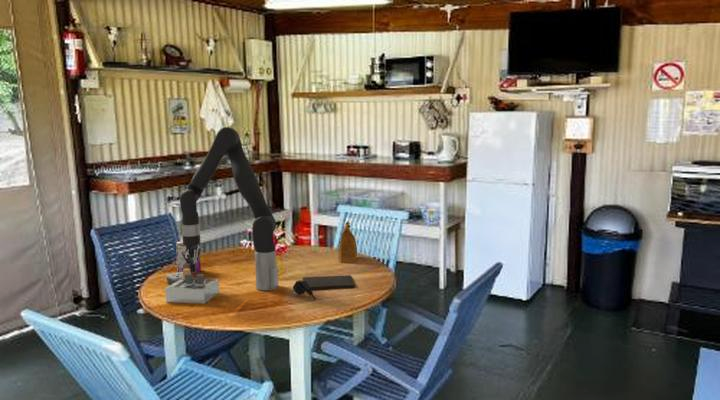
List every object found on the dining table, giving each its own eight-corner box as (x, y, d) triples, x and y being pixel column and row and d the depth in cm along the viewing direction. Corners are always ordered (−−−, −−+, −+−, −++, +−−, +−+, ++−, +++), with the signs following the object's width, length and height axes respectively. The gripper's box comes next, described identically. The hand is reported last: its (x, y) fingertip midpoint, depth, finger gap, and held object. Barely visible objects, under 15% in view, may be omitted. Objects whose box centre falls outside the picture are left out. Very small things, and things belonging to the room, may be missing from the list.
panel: (219, 292, 240) (218, 279, 240) (204, 303, 226) (203, 289, 225) (182, 291, 243) (182, 278, 242) (166, 302, 228) (165, 287, 227)
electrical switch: (174, 279, 249) (164, 271, 255) (173, 289, 250) (164, 281, 256) (192, 275, 255) (183, 268, 261) (192, 285, 257) (182, 277, 263)
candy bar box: (177, 276, 268) (176, 243, 265) (177, 273, 272) (175, 241, 270) (201, 273, 272) (199, 241, 269) (200, 271, 276) (198, 239, 274)
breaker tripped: (192, 277, 241) (191, 268, 240) (188, 280, 237) (187, 270, 236) (185, 277, 241) (185, 267, 241) (181, 280, 237) (180, 270, 237)
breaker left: (206, 283, 231) (205, 273, 231) (201, 286, 228) (201, 276, 227) (198, 283, 232) (198, 273, 231) (194, 286, 228) (194, 276, 227)
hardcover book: (302, 282, 258) (302, 277, 257) (351, 279, 260) (350, 275, 260) (303, 292, 242) (303, 287, 242) (354, 289, 245) (354, 284, 244)
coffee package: (357, 260, 295) (356, 220, 292) (357, 266, 283) (356, 224, 280) (338, 260, 295) (338, 220, 292) (338, 266, 283) (337, 225, 280)
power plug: (311, 299, 226) (295, 278, 231) (303, 311, 230) (288, 290, 235) (320, 296, 231) (304, 275, 236) (313, 307, 235) (297, 287, 239)
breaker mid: (194, 283, 232) (194, 273, 232) (190, 286, 228) (190, 275, 228) (187, 283, 233) (187, 273, 232) (183, 285, 229) (183, 275, 228)
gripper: (192, 237, 236) (194, 276, 238) (205, 231, 249) (207, 268, 251) (176, 236, 237) (178, 275, 239) (190, 231, 250) (192, 267, 252)
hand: (193, 271), depth 245 cm, fingers closed
